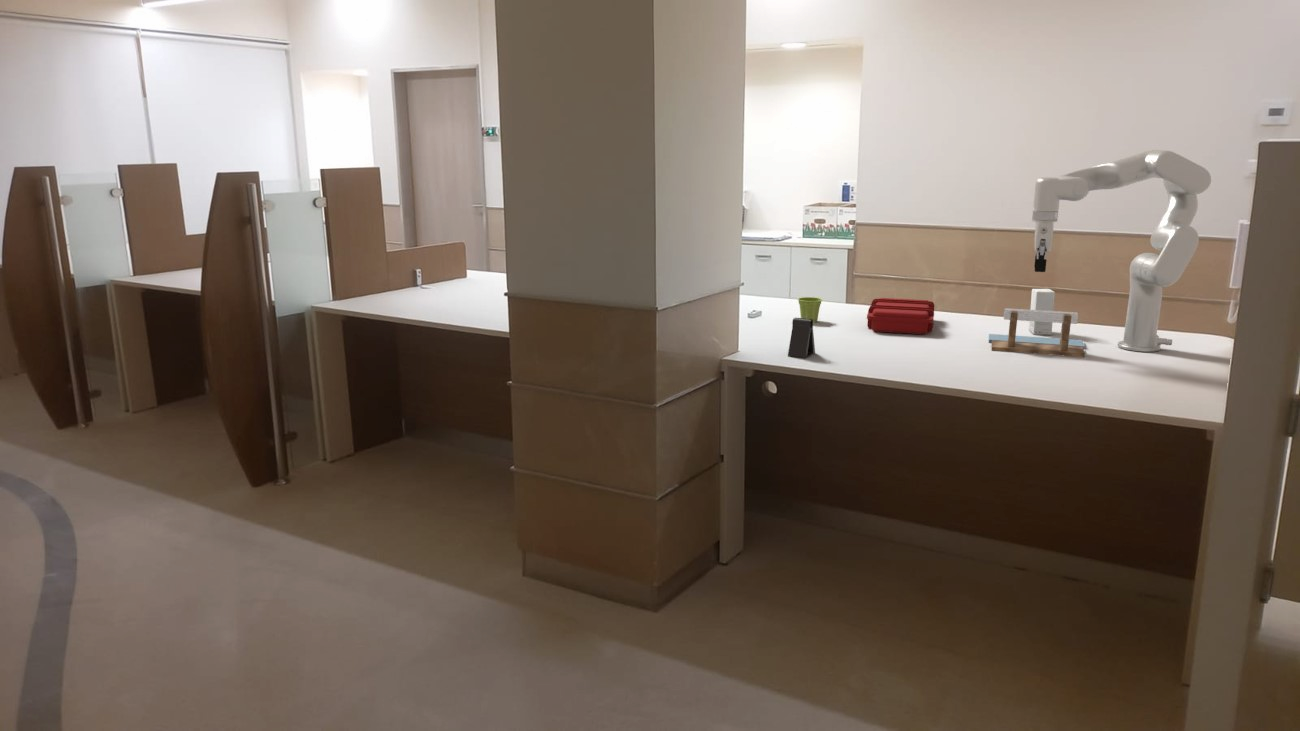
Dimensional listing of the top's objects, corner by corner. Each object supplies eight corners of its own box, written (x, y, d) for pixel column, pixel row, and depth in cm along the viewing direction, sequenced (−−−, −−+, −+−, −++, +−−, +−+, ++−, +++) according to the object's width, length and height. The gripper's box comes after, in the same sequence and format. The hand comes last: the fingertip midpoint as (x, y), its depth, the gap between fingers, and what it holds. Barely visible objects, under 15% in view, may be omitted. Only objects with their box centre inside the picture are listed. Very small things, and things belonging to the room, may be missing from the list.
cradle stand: (1081, 350, 297) (1086, 312, 294) (1084, 357, 288) (1089, 318, 285) (991, 343, 307) (995, 307, 303) (991, 350, 298) (995, 312, 294)
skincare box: (1051, 335, 319) (1056, 292, 315) (1031, 334, 321) (1036, 291, 317) (1046, 330, 327) (1051, 288, 323) (1027, 330, 328) (1031, 287, 325)
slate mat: (1082, 342, 308) (1082, 340, 307) (1084, 349, 299) (1084, 346, 298) (988, 336, 318) (989, 333, 318) (988, 342, 309) (988, 339, 309)
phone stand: (805, 358, 288) (806, 322, 285) (787, 356, 291) (788, 320, 288) (815, 353, 295) (816, 317, 292) (798, 350, 298) (799, 315, 295)
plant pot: (791, 320, 347) (792, 298, 345) (811, 318, 352) (812, 296, 349) (806, 324, 339) (807, 302, 337) (826, 322, 344) (827, 299, 341)
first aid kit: (872, 316, 355) (873, 295, 353) (933, 320, 348) (935, 298, 346) (865, 333, 326) (866, 309, 323) (932, 337, 319) (934, 313, 316)
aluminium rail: (1076, 322, 293) (1077, 312, 292) (1076, 323, 290) (1078, 314, 289) (1003, 317, 300) (1004, 308, 299) (1003, 319, 297) (1004, 309, 296)
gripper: (1058, 219, 279) (1052, 274, 284) (1056, 214, 295) (1051, 266, 299) (1032, 218, 282) (1027, 272, 286) (1032, 214, 298) (1027, 265, 302)
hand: (1039, 269), depth 293 cm, fingers open, 9 cm apart
